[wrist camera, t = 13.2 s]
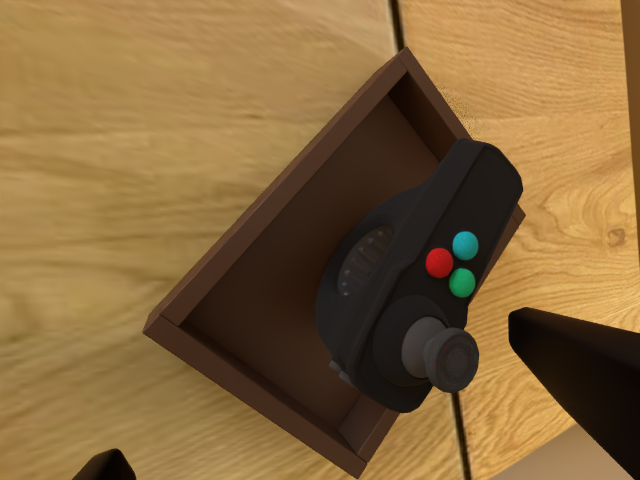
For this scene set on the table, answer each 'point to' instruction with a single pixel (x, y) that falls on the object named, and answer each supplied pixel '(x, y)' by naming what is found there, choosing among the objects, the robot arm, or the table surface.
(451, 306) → the controller
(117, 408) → the table surface
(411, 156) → the tray
